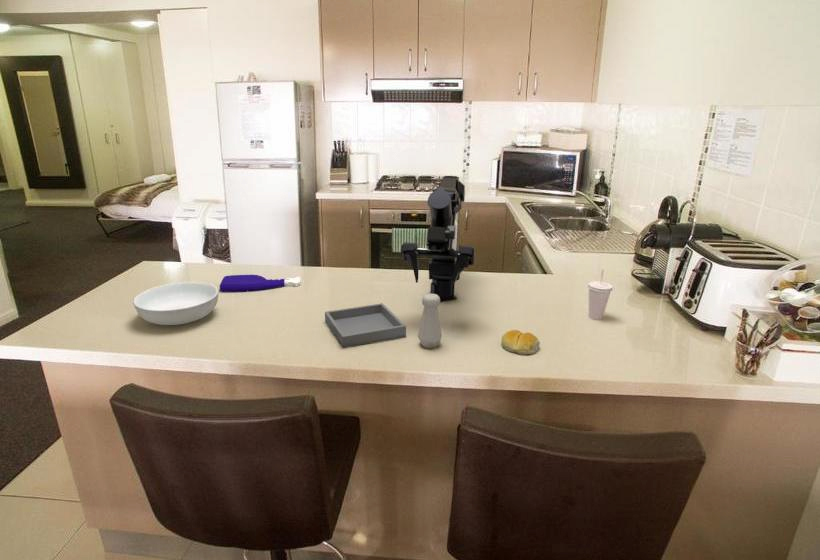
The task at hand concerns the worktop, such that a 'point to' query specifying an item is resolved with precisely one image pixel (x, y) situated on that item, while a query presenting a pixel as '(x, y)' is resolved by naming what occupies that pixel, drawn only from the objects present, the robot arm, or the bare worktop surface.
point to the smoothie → (598, 298)
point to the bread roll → (520, 342)
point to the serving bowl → (176, 302)
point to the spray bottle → (254, 283)
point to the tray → (364, 325)
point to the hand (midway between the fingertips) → (434, 283)
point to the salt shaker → (430, 322)
